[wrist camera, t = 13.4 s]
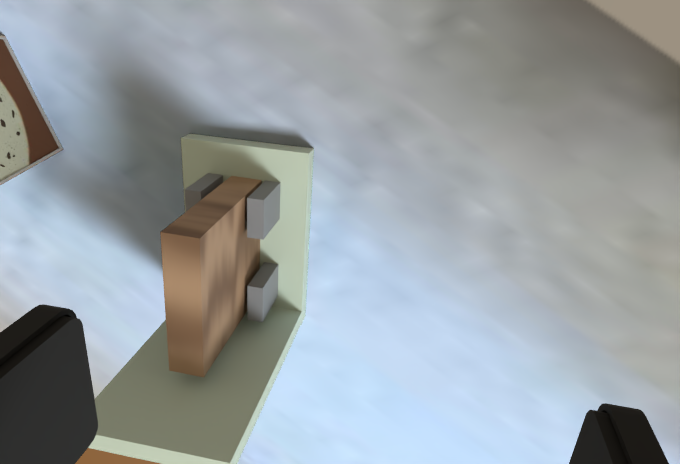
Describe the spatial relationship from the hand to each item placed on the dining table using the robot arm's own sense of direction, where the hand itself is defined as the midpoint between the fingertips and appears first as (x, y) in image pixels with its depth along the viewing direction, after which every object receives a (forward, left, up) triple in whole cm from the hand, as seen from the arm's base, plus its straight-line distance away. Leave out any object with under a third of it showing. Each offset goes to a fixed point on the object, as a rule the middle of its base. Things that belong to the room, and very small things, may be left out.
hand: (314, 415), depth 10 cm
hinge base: (+12, +11, -30) cm, 34 cm away
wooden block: (+12, +11, -29) cm, 33 cm away
